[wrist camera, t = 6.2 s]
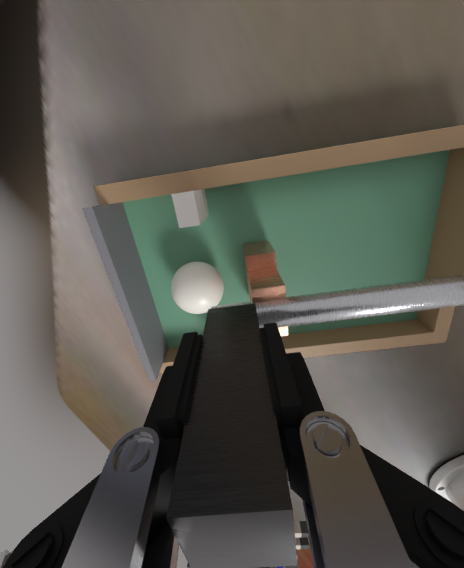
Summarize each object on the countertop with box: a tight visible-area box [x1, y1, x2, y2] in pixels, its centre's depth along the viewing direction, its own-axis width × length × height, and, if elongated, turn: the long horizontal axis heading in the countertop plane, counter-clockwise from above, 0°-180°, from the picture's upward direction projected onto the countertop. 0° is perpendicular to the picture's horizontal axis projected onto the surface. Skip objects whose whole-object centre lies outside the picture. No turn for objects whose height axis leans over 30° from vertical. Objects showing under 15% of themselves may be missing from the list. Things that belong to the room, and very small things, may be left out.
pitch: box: [82, 125, 464, 381], centre depth 15 cm, size 25×16×10 cm, turn 98°
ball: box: [171, 262, 224, 314], centre depth 18 cm, size 4×4×4 cm
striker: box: [166, 240, 464, 568], centre depth 11 cm, size 22×5×15 cm, turn 98°
